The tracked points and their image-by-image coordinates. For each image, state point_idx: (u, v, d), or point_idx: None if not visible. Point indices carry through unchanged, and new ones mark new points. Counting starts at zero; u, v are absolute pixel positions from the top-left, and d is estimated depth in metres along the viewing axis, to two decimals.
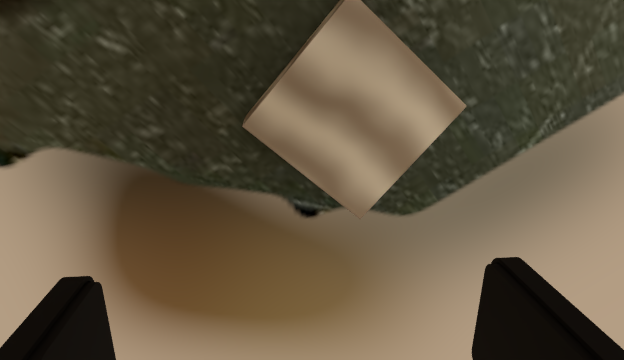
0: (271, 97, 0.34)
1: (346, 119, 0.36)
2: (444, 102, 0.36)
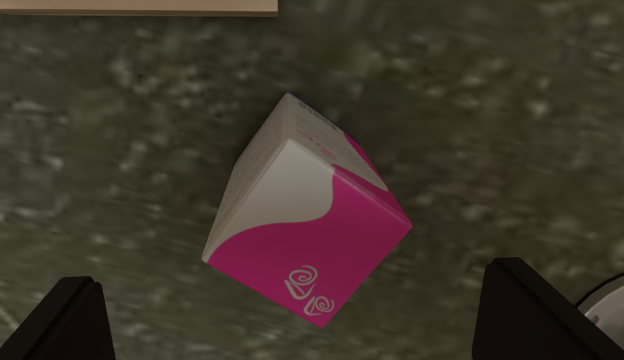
0: None
1: None
2: None
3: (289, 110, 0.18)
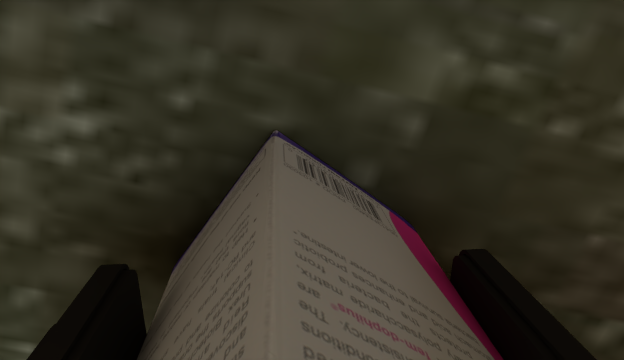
0: None
1: None
2: None
3: (277, 228, 0.06)
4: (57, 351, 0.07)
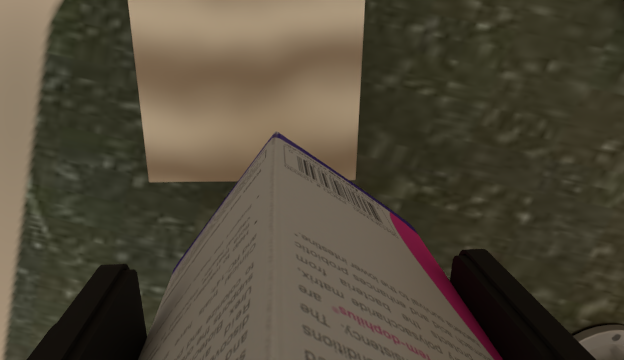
0: (358, 18, 0.25)
1: (258, 62, 0.26)
2: (175, 166, 0.27)
3: (278, 231, 0.06)
4: (57, 351, 0.07)
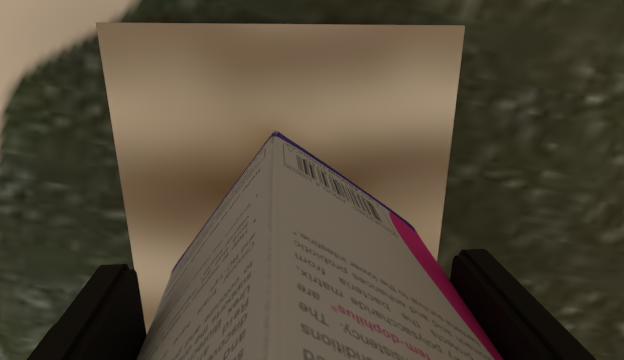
0: (446, 113, 0.17)
1: None
2: None
3: (277, 229, 0.06)
4: (57, 351, 0.07)
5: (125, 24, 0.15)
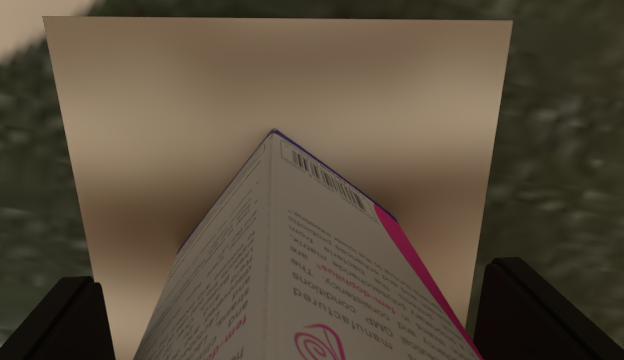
0: (485, 130, 0.14)
1: None
2: None
3: (275, 207, 0.08)
4: None
5: (81, 18, 0.12)
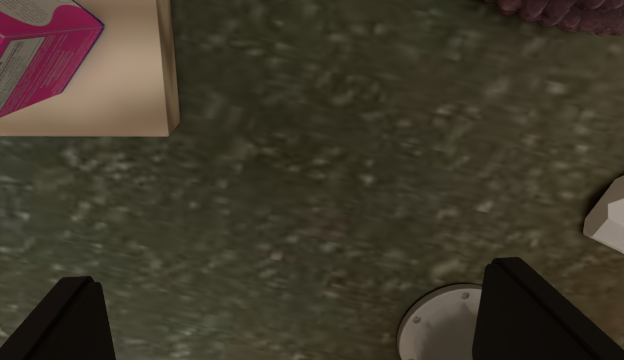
0: None
1: None
2: None
3: None
4: None
5: None
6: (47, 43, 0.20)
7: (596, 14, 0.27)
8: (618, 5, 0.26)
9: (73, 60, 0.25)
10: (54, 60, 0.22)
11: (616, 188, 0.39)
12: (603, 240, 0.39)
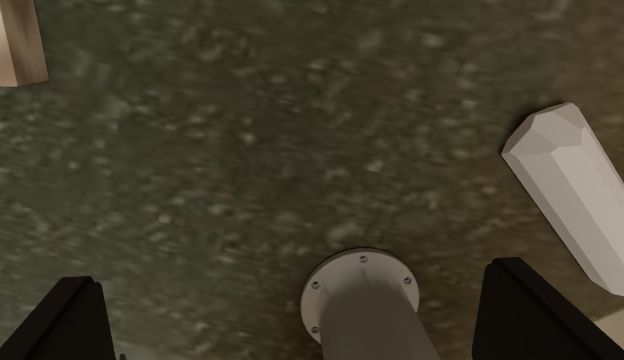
0: None
1: None
2: None
3: None
4: None
5: None
6: None
7: None
8: None
9: None
10: None
11: (547, 109, 0.37)
12: (518, 155, 0.37)
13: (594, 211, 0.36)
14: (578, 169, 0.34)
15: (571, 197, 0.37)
